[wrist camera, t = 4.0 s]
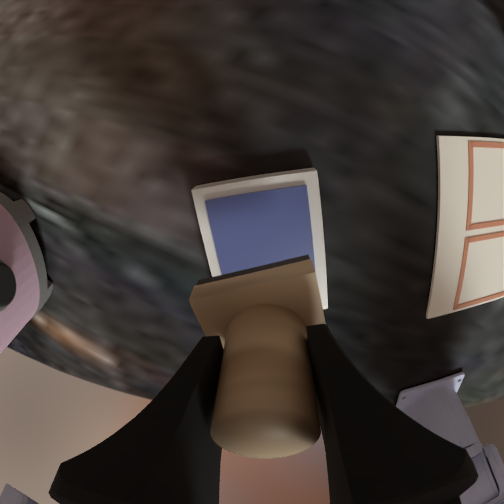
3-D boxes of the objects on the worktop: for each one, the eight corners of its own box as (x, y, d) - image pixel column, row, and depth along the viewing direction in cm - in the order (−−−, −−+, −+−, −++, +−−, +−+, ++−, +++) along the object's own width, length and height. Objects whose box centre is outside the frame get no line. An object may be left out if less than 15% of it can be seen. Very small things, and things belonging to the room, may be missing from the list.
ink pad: (325, 298, 20) (328, 311, 19) (226, 311, 21) (223, 323, 20) (313, 167, 17) (318, 171, 15) (196, 185, 17) (190, 191, 16)
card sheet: (519, 289, 19) (521, 291, 19) (425, 317, 21) (427, 319, 20) (538, 142, 14) (541, 143, 13) (436, 135, 15) (439, 136, 15)
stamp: (326, 340, 13) (350, 453, 7) (232, 358, 13) (218, 469, 8) (309, 252, 11) (343, 371, 6) (196, 279, 12) (153, 397, 6)
